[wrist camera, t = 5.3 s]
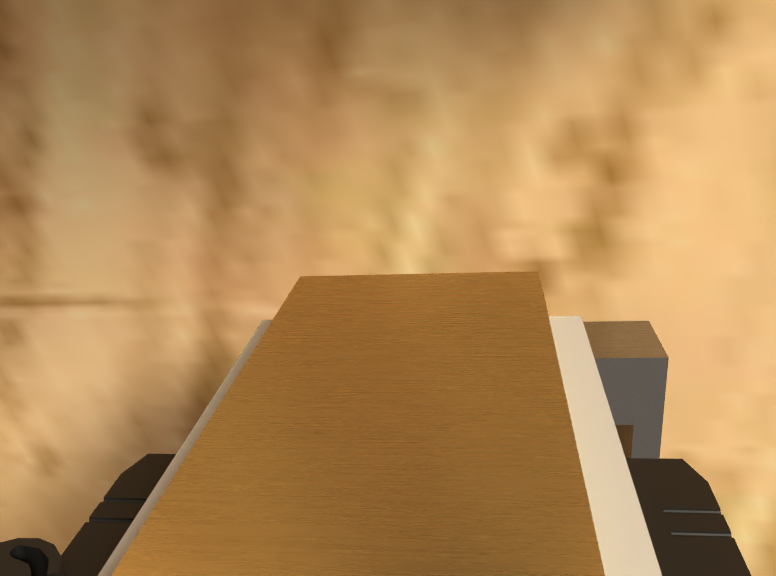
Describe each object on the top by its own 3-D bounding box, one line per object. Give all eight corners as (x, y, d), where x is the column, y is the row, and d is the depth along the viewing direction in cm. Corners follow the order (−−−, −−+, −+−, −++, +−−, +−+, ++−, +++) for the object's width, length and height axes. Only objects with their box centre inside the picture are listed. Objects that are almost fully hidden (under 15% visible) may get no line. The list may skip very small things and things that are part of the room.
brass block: (300, 276, 14) (91, 607, 6) (538, 271, 13) (616, 630, 6) (324, 470, 15) (181, 909, 8) (536, 473, 15) (595, 952, 7)
